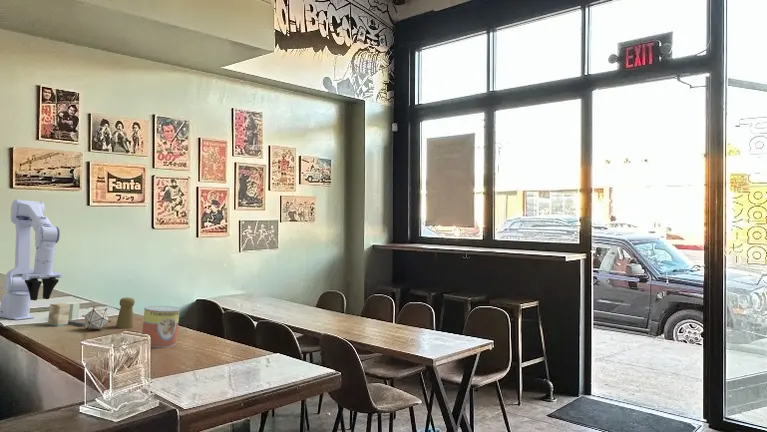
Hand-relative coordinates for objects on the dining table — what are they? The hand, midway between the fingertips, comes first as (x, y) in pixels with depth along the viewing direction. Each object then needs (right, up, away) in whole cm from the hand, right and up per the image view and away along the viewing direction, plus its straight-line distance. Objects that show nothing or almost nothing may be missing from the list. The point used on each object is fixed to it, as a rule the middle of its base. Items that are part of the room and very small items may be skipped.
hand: (39, 299), depth 196 cm
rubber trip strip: (+3, -11, +12) cm, 16 cm away
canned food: (+44, -14, -6) cm, 47 cm away
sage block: (-2, -11, +22) cm, 24 cm away
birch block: (+2, -10, +8) cm, 13 cm away
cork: (+22, -13, +16) cm, 30 cm away
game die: (+16, -12, +6) cm, 21 cm away
